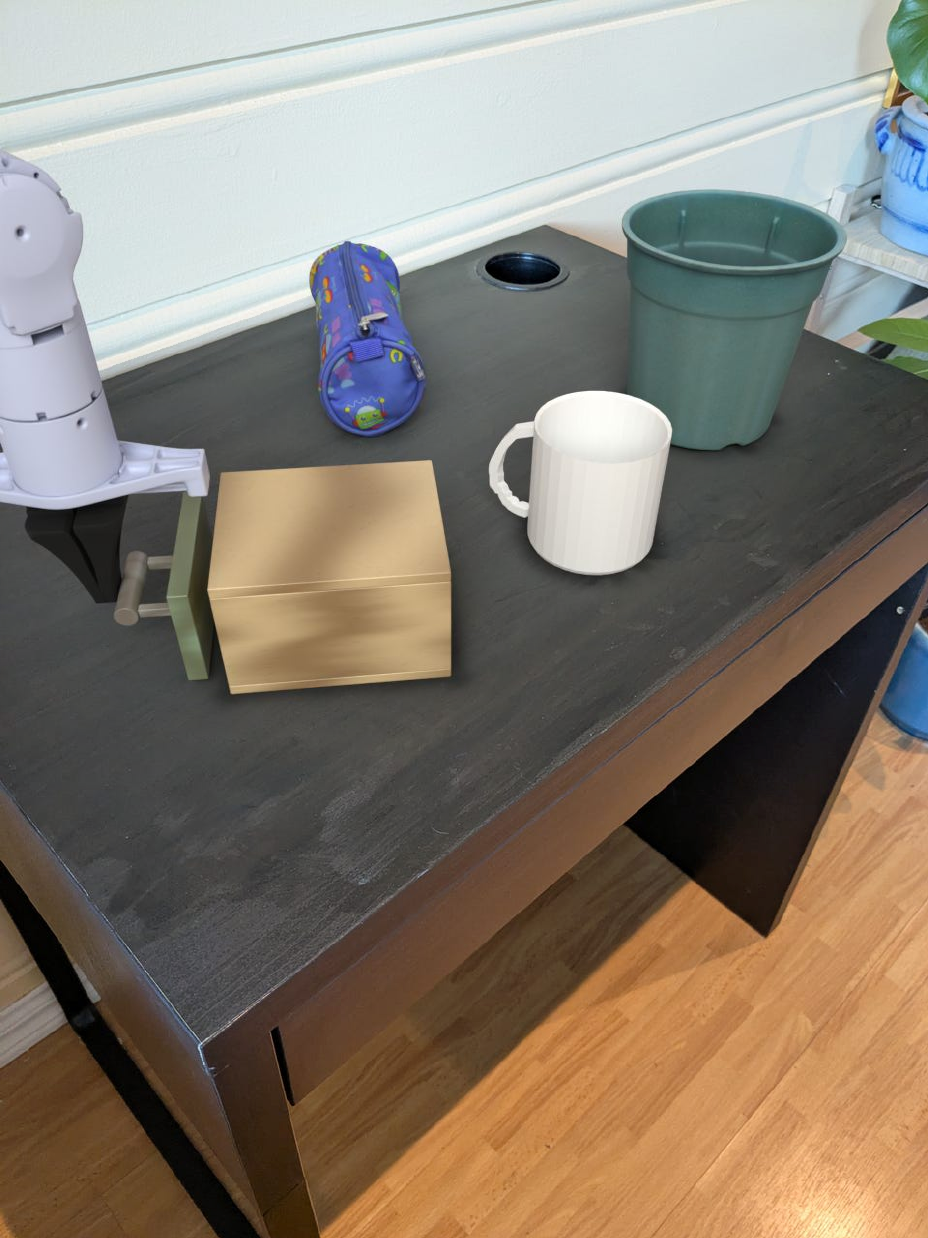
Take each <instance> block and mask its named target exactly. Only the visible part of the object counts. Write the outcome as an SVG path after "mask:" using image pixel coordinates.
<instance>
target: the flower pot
mask: <svg viewBox="0 0 928 1238" xmlns="http://www.w3.org/2000/svg"><path fill="white" fill-rule="evenodd" d="M621 230H622V233H623V235H624V237H625V239H626V274H627V278H628V280H629V283H630V285H629V287H630V288H629V319H628V320H629V321H628V349H627V350H628V353H627V382H626V383H627V385H626V395H629V396H632V397H635V398H639V399H641V400H643V401H645V402H648V403H650V404H651V405H653V406H654V407H656V408H657V409H659V410H660V411H661V412H662V413H663V414H664V415H665V416H666V417H667V419H668V420H669V422H670V424H671V428H672V435H671V441H670V445H672V446H675V447H678V448H679V447H680V448H683V449H689V450H700V451H721V450H722V449H723V448H725V447H727V446H729V445H734V444H737V445H739V446H741V447H742V446H746V445H749V444H752V443H754V442H755V441H757V440H758V439H760V438H761V437H762V436H763V435H764V434H765V433H766V432H767V430H768V429H769V427H770V425H771V423H772V420H773V417H774V414H775V411H776V409H777V405H778V402H779V399H780V397H781V394H782V391H783V388H784V385H785V383H786V379H787V377H788V374H789V371H790V368H791V366H792V362H793V360H794V357H795V354H796V351H797V348H798V345H799V343H800V339H801V337H802V334H803V332H804V329H805V327H806V324H807V322H808V318H809V315H810V313H811V310H812V307H813V304H814V302H815V301H816V300H817V299H818V297H820V295H821V293H822V290H823V288H824V285H825V282H826V280H827V277H828V275H829V271H830V269H831V267H832V263H833V261H834V260H835V259H836V258H837V257H839V256H840V254H841V253H842V252H843V250H844V249H845V247H846V245H847V243H848V242H847V241H848V234H847V232H846V230H845V228H844V227H843V226H842V224H840V222H839V221H838V220H837V219H836V218H834V217H832V216H831V215H830V214H828V213H826V212H825V211H822V210H820V209H818V208H816V207H813V206H811V205H808V204H805V203H802V202H800V201H796V200H792V199H789V198H785V197H782V196H777V195H776V196H775V195H771V194H766V193H759V192H754V191H744V190H736V189H735V190H734V189H713V188H712V189H709V188H708V189H690V190H689V189H688V190H679V191H671V192H667V193H663V194H659V195H655V196H651V197H648V198H646V199H644V200H640V201H639V202H637V203H635V204H633V205H632V206H630V207H629V208H628V209H627V210H626V211H625V212H624V213H623V216H622V218H621Z"/></svg>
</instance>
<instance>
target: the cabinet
mask: <svg viewBox="0 0 928 1238" xmlns="http://www.w3.org/2000/svg"><path fill="white" fill-rule="evenodd" d="M219 475H220V476H219V485H218V492H217V493H218V494H217V503H216V510H215V518H214V519H215V520H214V528H213V535H212V539H213V545H212V553H211V562H210V570H209V579H208V588H207V591H208V595H209V600H210V604H211V609H212V613H213V617H214V627H215V630H216V635H217V639H218V644H219V648H220V653H221V657H222V661H223V665H224V670H225V674H226V679H227V683H228V687H229V691H230V694H231V695H239V694H252V693H263V692H276V691H287V690H288V691H289V690H299V689H301V690H303V689H310V688H311V689H313V688H314V689H315V688H324V687H337V686H338V687H339V686H350V685H363V684H375V683H376V684H377V683H386V682H387V683H388V682H398V681H399V682H400V681H411V680H424V679H425V680H426V679H437V678H438V679H439V678H450V677H451V676H452V570H451V563H450V559H449V552H448V548H447V547H448V546H447V540H446V535H445V528H444V523H443V515H442V511H441V505H440V501H439V494H438V488H437V482H436V475H435V471H434V464H433V461H432V459H427V460H426V459H425V460H412V461H396V462H377V463H376V462H375V463H362V464H360V463H359V464H344V465H343V464H342V465H341V464H340V465H328V466H327V465H325V466H310V467H309V466H308V467H294V468H293V467H291V468H277V469H275V468H273V469H258V470H241V471H223V472H220V474H219Z"/></svg>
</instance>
